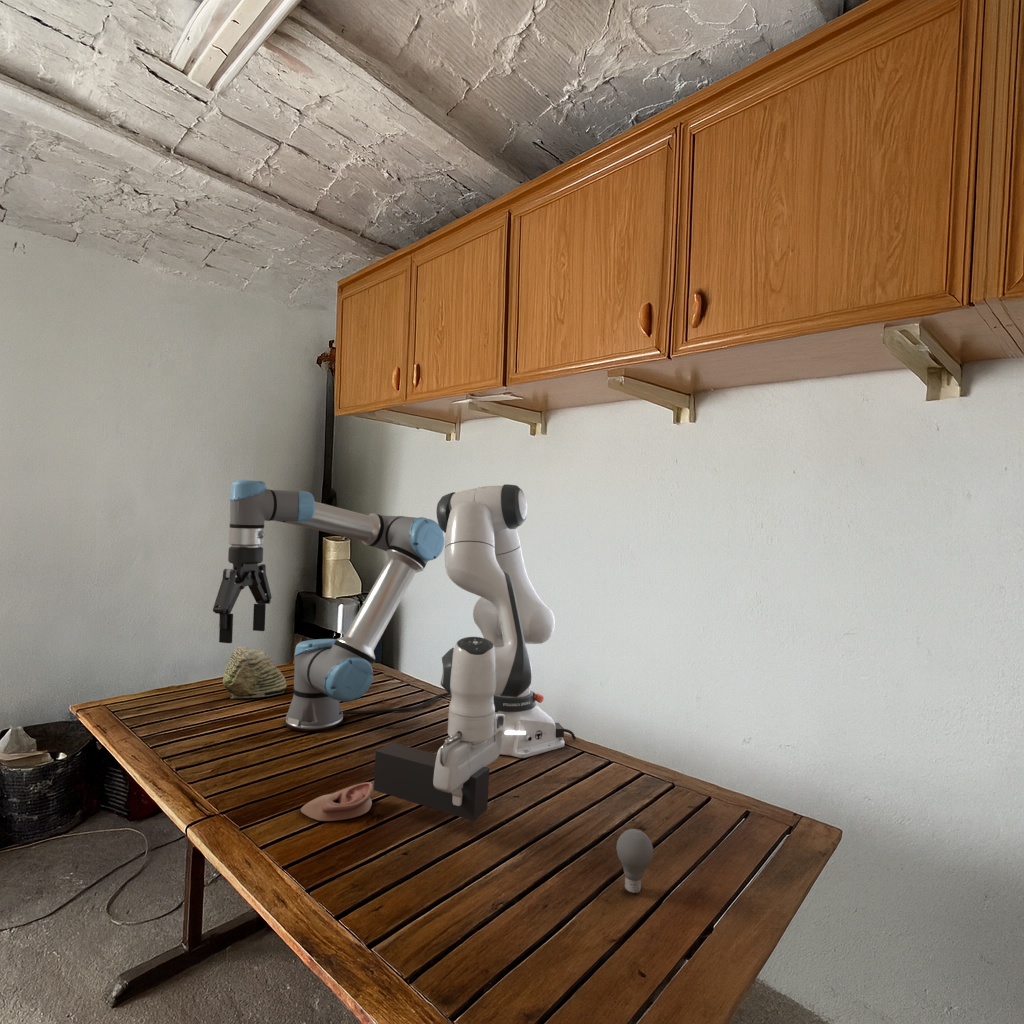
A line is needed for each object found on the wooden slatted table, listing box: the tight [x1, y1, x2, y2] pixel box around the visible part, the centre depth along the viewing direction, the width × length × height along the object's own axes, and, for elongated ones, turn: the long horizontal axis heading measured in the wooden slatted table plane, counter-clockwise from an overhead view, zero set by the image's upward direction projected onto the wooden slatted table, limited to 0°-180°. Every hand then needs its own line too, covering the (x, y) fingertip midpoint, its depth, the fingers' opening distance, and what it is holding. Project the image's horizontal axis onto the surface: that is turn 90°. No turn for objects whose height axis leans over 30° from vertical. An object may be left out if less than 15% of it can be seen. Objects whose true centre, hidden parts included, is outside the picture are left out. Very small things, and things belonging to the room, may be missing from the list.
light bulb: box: [615, 828, 654, 894], centre depth 106 cm, size 6×6×10 cm
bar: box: [373, 742, 490, 822], centre depth 125 cm, size 23×5×8 cm, turn 64°
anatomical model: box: [300, 781, 374, 822], centre depth 129 cm, size 13×4×12 cm
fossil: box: [222, 646, 288, 699], centre depth 198 cm, size 9×18×15 cm, turn 132°
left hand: (242, 636), depth 148 cm, fingers open, 13 cm apart
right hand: (467, 796), depth 121 cm, fingers closed on bar, 5 cm apart
